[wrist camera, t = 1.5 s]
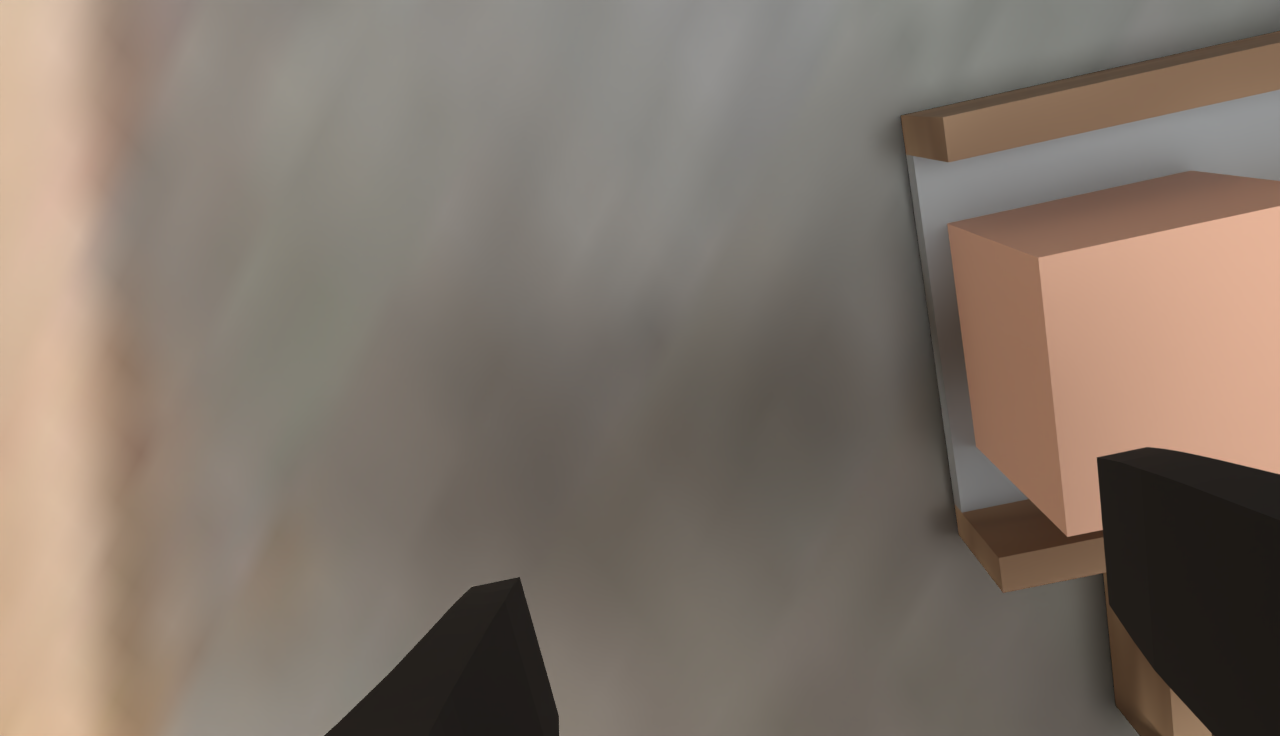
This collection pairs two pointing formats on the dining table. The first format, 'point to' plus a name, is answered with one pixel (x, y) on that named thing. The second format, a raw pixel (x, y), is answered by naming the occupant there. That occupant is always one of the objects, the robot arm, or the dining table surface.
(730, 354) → the dining table surface
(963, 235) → the block
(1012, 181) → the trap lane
